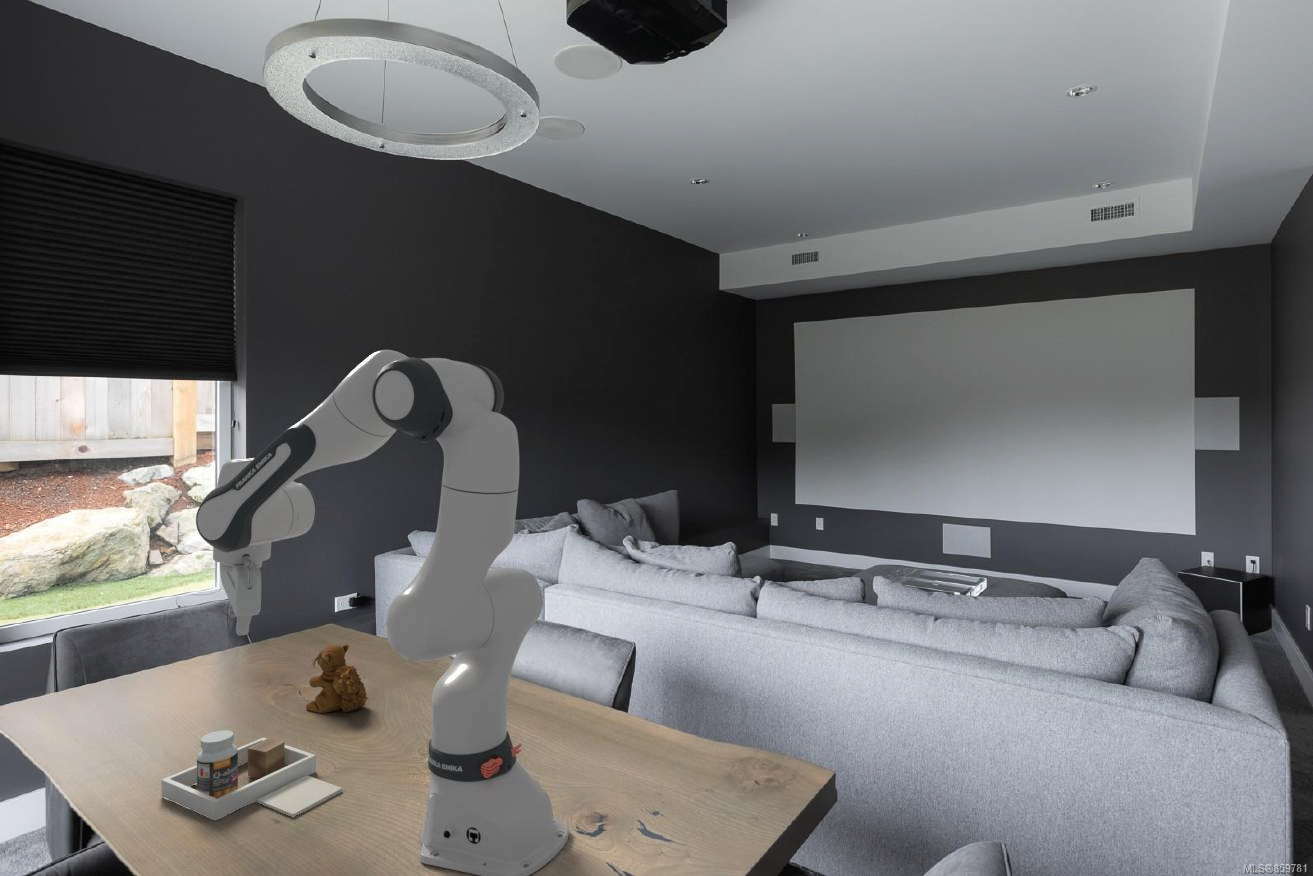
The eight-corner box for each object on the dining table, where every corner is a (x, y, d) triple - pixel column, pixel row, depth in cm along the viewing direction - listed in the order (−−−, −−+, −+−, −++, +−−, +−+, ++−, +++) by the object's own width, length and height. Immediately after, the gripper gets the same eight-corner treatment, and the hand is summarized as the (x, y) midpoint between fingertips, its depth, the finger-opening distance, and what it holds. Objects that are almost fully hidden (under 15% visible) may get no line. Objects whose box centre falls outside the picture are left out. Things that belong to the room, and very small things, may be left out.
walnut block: (284, 769, 127) (284, 742, 127) (266, 780, 123) (265, 752, 123) (267, 766, 128) (266, 738, 128) (248, 777, 125) (247, 748, 124)
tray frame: (315, 771, 126) (315, 755, 126) (215, 821, 111) (215, 802, 111) (263, 753, 133) (263, 737, 133) (161, 797, 117) (161, 779, 117)
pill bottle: (219, 806, 115) (218, 745, 115) (188, 802, 116) (188, 742, 116) (246, 788, 120) (245, 730, 120) (217, 785, 122) (216, 727, 121)
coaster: (342, 791, 120) (342, 788, 120) (293, 818, 112) (293, 814, 112) (306, 778, 124) (306, 775, 124) (257, 803, 116) (256, 799, 116)
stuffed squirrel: (341, 693, 162) (340, 635, 162) (382, 706, 155) (381, 646, 155) (299, 708, 154) (299, 647, 153) (341, 723, 146) (340, 659, 146)
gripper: (273, 562, 119) (268, 642, 120) (253, 534, 135) (249, 605, 136) (229, 565, 115) (225, 648, 116) (214, 535, 131) (211, 608, 133)
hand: (238, 624), depth 127 cm, fingers open, 8 cm apart
